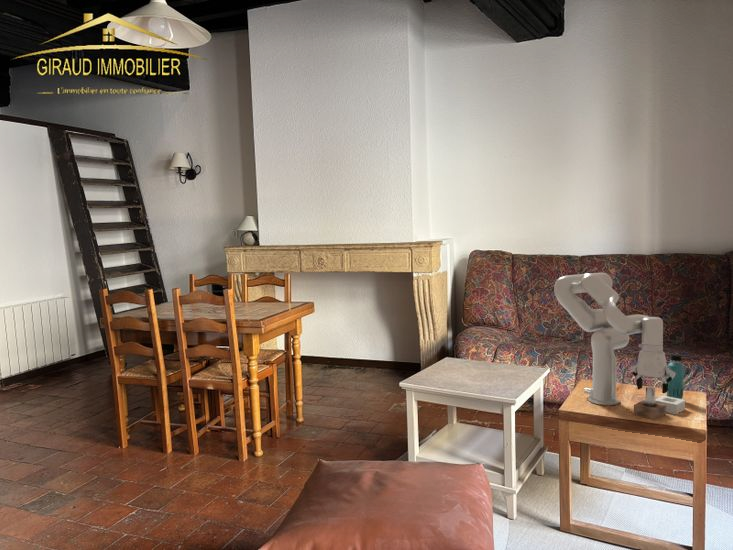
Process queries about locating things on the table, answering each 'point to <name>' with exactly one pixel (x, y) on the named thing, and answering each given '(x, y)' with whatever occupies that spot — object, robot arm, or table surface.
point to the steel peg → (650, 397)
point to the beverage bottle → (676, 378)
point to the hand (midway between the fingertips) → (652, 390)
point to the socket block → (650, 410)
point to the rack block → (671, 404)
